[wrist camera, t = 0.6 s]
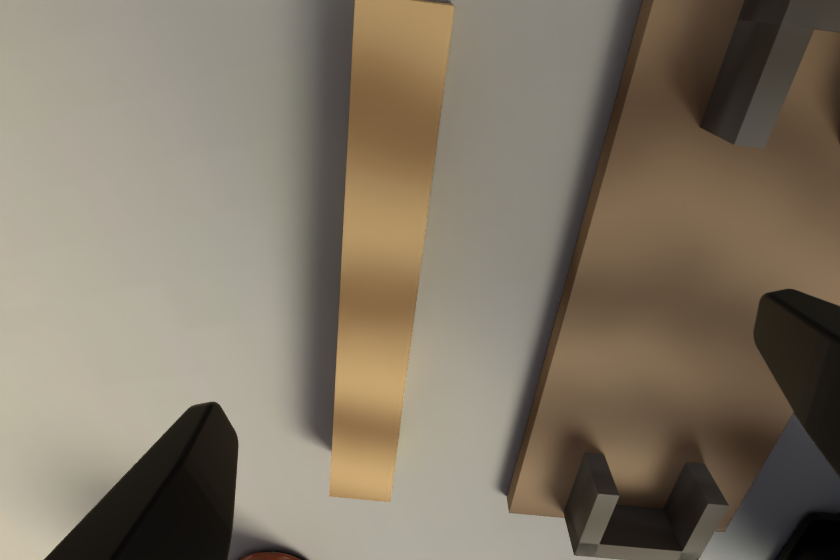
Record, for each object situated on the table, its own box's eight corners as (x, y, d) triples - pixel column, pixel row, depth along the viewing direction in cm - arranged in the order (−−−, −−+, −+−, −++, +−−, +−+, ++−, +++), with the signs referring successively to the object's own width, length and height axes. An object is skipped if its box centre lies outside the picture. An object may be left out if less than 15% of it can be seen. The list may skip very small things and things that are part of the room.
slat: (394, 455, 29) (390, 501, 27) (338, 450, 29) (329, 496, 27) (451, 3, 19) (454, 5, 16) (365, -8, 19) (355, -7, 16)
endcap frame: (715, 516, 31) (747, 575, 28) (506, 497, 30) (515, 555, 27) (1000, 5, 18) (1115, 9, 15) (653, -40, 18) (700, -45, 15)
